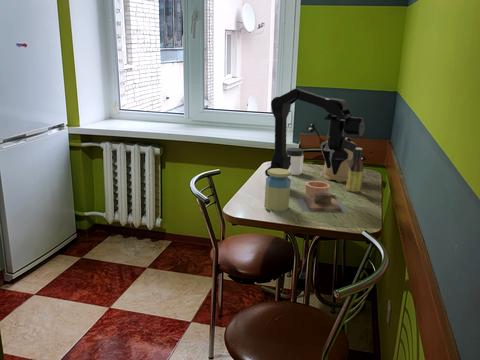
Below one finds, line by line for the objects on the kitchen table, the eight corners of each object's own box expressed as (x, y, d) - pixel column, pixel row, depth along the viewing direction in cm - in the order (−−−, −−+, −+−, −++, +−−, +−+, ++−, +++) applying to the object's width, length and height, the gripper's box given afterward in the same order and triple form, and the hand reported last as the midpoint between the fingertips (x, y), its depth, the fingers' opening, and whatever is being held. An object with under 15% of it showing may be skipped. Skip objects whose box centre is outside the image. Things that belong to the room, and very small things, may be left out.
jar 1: (264, 204, 173) (267, 167, 169) (288, 206, 172) (291, 169, 168) (263, 212, 164) (265, 173, 160) (288, 214, 164) (291, 175, 159)
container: (350, 183, 207) (355, 145, 202) (323, 180, 209) (327, 143, 204) (348, 176, 219) (352, 140, 214) (322, 173, 221) (326, 138, 215)
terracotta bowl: (306, 199, 181) (308, 187, 180) (302, 191, 191) (303, 180, 189) (331, 200, 182) (332, 188, 180) (325, 192, 191) (327, 181, 190)
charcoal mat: (301, 213, 165) (301, 211, 165) (295, 201, 178) (296, 198, 178) (349, 215, 166) (349, 212, 165) (340, 202, 179) (340, 200, 179)
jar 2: (288, 169, 225) (290, 146, 222) (303, 172, 222) (305, 148, 218) (281, 173, 218) (283, 149, 214) (297, 176, 214) (299, 152, 211)
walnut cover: (309, 210, 166) (310, 198, 164) (303, 200, 177) (304, 188, 176) (341, 211, 166) (342, 199, 165) (333, 201, 178) (334, 189, 176)
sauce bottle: (349, 189, 197) (354, 145, 191) (362, 192, 193) (368, 148, 188) (342, 192, 192) (348, 147, 187) (356, 196, 188) (361, 150, 183)
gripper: (364, 137, 163) (359, 178, 167) (348, 128, 181) (344, 165, 185) (334, 136, 162) (330, 177, 167) (322, 127, 180) (318, 165, 184)
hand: (331, 171), depth 176 cm, fingers open, 9 cm apart
